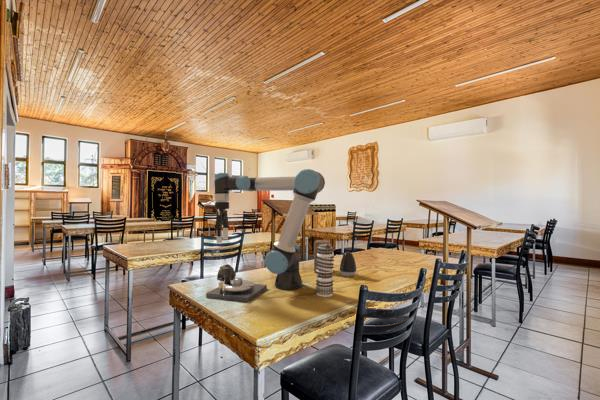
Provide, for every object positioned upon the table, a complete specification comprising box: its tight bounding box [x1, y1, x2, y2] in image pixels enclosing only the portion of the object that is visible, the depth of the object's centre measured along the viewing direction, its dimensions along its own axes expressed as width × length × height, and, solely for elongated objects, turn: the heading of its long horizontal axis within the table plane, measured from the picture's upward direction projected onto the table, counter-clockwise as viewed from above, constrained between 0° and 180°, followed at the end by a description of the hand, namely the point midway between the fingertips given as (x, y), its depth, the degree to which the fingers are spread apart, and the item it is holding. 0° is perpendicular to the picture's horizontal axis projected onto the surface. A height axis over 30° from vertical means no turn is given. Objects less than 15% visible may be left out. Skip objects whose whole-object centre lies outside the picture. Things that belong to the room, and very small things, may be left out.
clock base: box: [205, 281, 268, 303], centre depth 149 cm, size 22×22×7 cm
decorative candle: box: [315, 243, 335, 298], centre depth 148 cm, size 9×9×25 cm
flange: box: [222, 267, 255, 292], centre depth 149 cm, size 18×16×9 cm
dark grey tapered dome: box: [339, 251, 357, 278], centre depth 185 cm, size 10×10×15 cm
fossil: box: [216, 263, 237, 281], centre depth 176 cm, size 11×9×10 cm
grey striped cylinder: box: [313, 239, 331, 273], centre depth 197 cm, size 10×10×20 cm
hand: (222, 241), depth 159 cm, fingers open, 13 cm apart
